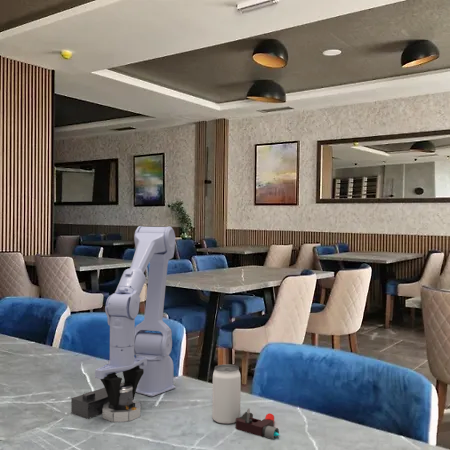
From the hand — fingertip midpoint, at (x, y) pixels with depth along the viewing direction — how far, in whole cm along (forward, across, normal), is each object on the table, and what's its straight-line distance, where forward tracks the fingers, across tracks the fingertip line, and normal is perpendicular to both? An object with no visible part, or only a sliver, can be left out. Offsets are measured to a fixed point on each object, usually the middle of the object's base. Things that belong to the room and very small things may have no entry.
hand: (121, 402), depth 127 cm
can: (+3, -13, +21) cm, 25 cm away
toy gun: (+4, -14, +31) cm, 34 cm away
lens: (+2, 0, 0) cm, 2 cm away
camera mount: (+3, 0, -3) cm, 4 cm away
